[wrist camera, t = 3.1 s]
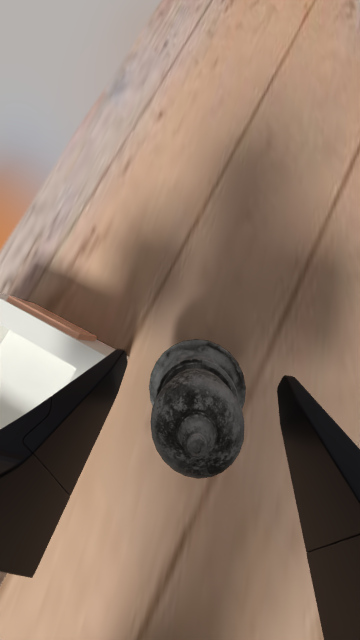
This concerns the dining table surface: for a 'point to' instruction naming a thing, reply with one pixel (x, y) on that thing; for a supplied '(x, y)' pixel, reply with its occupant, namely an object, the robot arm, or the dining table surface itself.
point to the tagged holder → (39, 355)
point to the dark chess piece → (197, 408)
